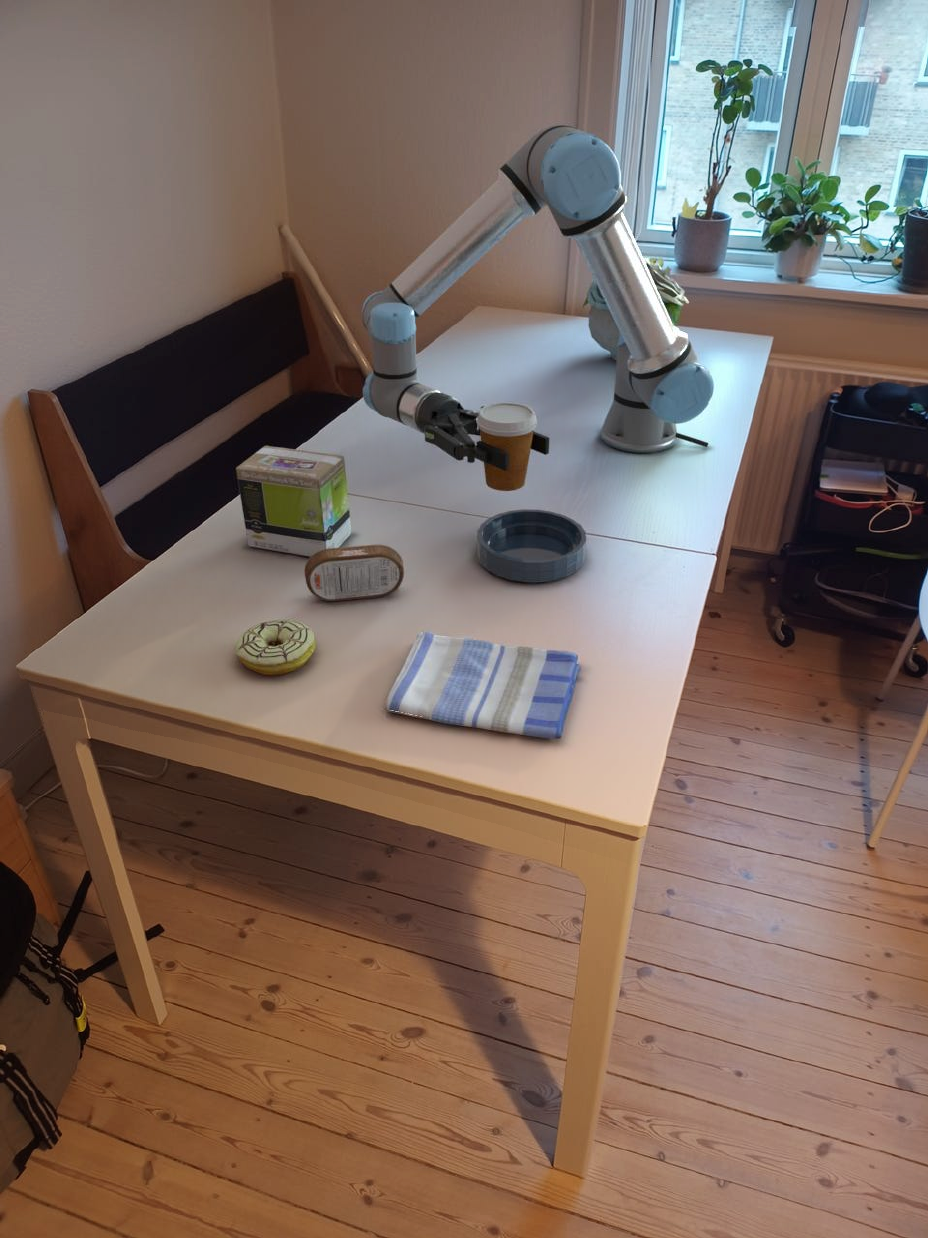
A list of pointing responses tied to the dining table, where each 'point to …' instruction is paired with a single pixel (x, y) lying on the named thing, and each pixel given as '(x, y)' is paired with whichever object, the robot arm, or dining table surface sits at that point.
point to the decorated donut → (275, 646)
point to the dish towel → (486, 685)
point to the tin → (354, 572)
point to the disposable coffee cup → (507, 441)
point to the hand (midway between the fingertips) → (527, 454)
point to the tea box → (294, 500)
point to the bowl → (531, 545)
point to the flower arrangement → (603, 321)
